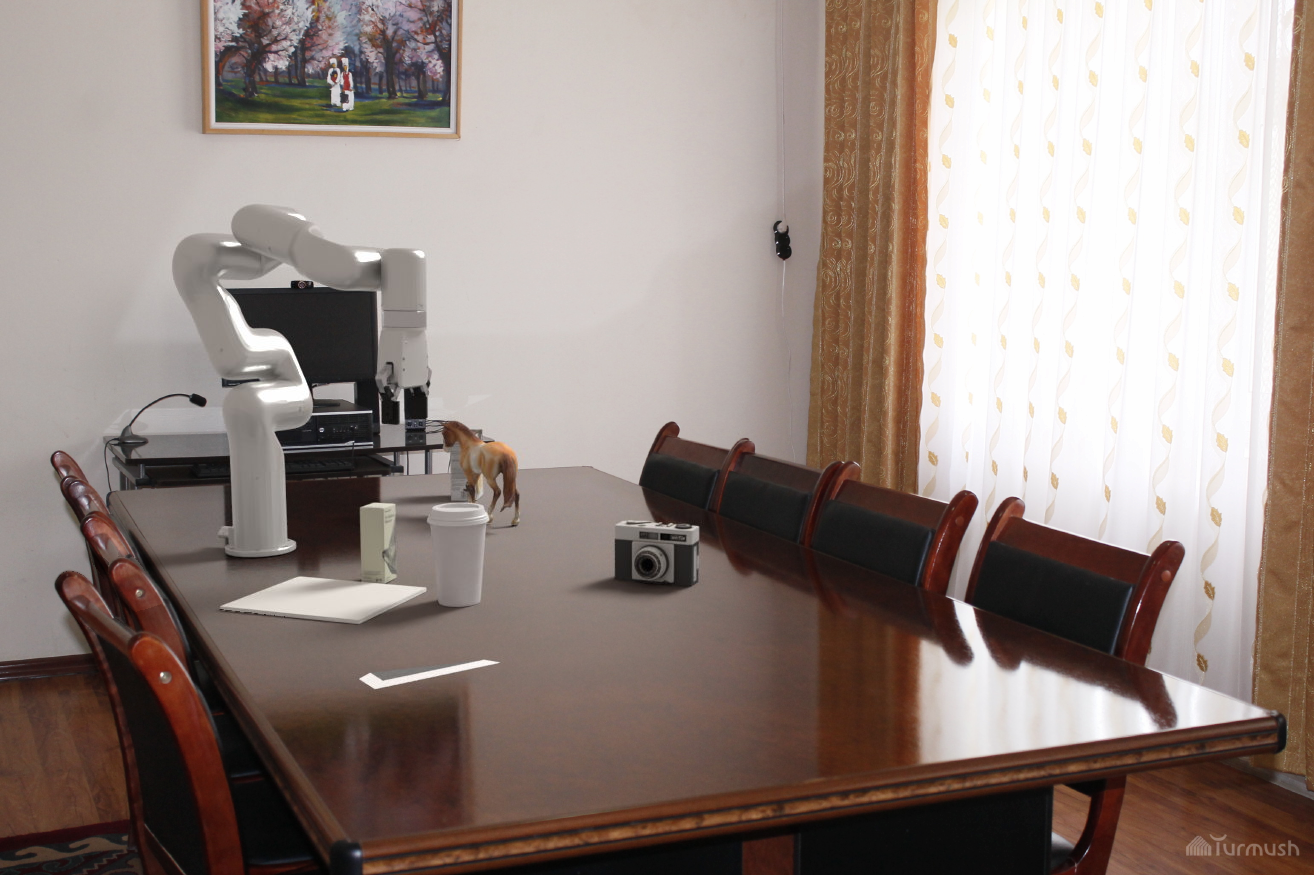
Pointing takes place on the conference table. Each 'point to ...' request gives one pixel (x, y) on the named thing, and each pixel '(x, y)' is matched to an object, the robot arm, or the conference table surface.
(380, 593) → the mat
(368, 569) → the box
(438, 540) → the coffee cup
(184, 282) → the robot arm
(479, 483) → the coffee box
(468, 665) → the white l-shaped strip
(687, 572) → the camera
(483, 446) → the horse figurine
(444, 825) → the conference table surface
